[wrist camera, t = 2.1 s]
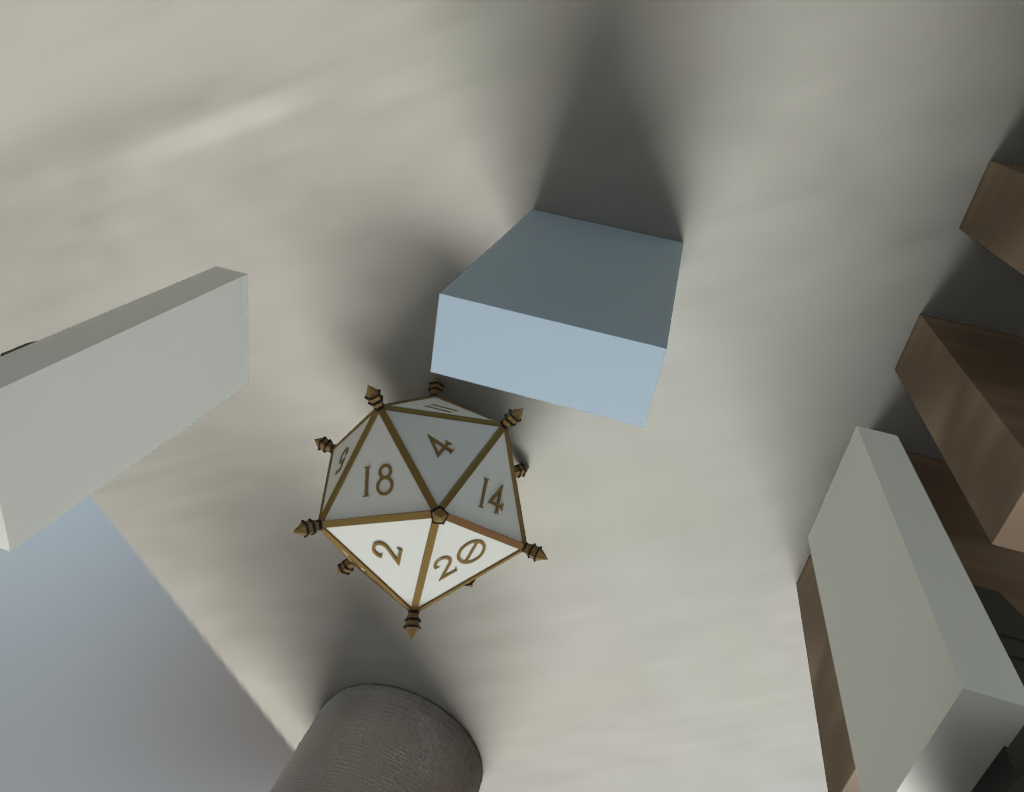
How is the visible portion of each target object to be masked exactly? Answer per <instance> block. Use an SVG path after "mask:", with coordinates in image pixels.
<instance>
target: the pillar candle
mask: <svg viewBox="0 0 1024 792" xmlns="http://www.w3.org/2000/svg"><path fill="white" fill-rule="evenodd" d="M481 782H482V764H481V759H480V756H479V753H478V751H477V748H476V746H475V745H474V743H472V740H471V737H470V736H469V734H468V733H467V732H466V730H465V729H464V728H463V727H462V726H461V724H460V723H458V722H457V721H456V720H455V719H454V718H453V717H452V716H451V715H449V714H447V713H446V712H445V711H444V710H443V709H442V708H440V707H439V706H437V705H435V704H434V703H432V702H430V701H429V700H427V699H424V698H423V697H421V696H418V695H416V694H413V693H411V692H408V691H405V690H402V689H400V688H395V687H390V686H384V685H372V684H364V685H359V686H351V687H348V688H345V689H343V690H341V691H340V692H338V693H337V694H335V695H334V696H333V697H332V698H331V699H330V700H329V701H328V702H327V703H326V704H325V705H324V706H323V707H322V709H321V710H320V712H319V713H318V714H317V716H316V718H315V719H314V721H313V723H312V725H311V726H310V728H309V730H308V731H307V733H306V734H305V735H304V737H303V739H302V740H301V742H300V743H299V745H298V747H297V749H296V750H295V752H294V754H293V755H292V757H291V759H290V760H289V762H288V763H287V765H286V767H285V768H284V770H283V771H282V773H281V774H280V776H279V778H278V779H277V781H276V783H275V785H274V786H273V788H272V789H271V791H270V792H479V789H480V785H481Z"/></svg>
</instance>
